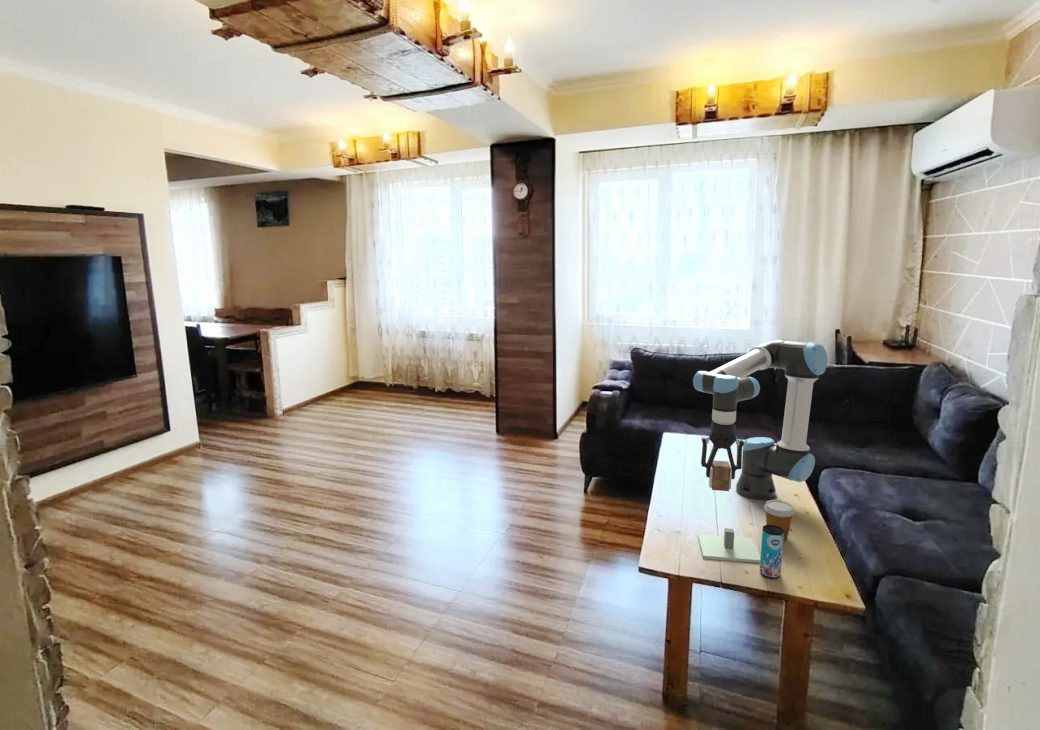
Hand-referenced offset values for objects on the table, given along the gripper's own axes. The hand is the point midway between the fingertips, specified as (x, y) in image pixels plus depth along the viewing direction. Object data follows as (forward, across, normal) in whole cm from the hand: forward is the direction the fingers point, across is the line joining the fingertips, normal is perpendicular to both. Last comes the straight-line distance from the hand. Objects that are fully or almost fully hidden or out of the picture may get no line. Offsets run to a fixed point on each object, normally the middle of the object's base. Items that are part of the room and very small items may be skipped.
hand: (719, 486), depth 184 cm
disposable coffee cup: (+20, -21, -5) cm, 29 cm away
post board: (+20, -3, +6) cm, 21 cm away
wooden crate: (0, 0, 0) cm, 0 cm away
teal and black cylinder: (+20, -14, +19) cm, 31 cm away
